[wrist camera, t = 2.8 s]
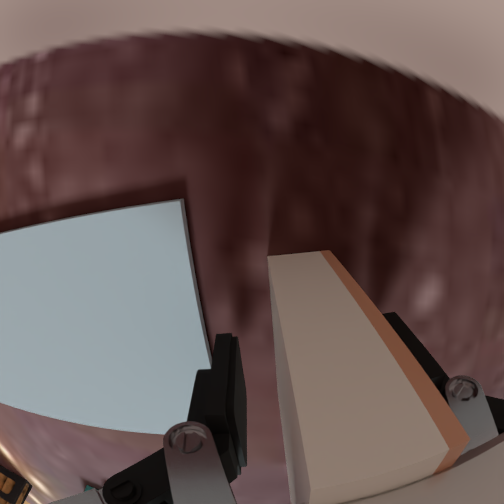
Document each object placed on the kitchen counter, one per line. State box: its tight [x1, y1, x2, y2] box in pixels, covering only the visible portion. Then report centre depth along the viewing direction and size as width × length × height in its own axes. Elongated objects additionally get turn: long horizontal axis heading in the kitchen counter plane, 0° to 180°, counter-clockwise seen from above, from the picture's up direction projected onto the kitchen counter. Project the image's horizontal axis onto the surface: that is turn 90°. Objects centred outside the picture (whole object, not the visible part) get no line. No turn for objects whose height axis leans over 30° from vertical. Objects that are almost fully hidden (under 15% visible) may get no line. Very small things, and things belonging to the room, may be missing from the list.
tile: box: [267, 250, 470, 504], centre depth 8 cm, size 2×7×9 cm, turn 6°
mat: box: [0, 199, 212, 434], centre depth 12 cm, size 20×12×1 cm, turn 96°
